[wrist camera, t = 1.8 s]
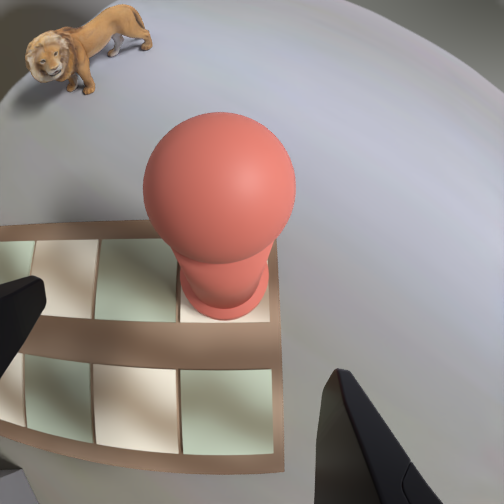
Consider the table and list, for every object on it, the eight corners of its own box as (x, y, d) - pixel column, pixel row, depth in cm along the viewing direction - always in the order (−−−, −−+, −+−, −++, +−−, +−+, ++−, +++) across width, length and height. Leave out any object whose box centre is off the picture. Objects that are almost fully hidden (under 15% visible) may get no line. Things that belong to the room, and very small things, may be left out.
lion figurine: (73, 125, 24) (36, 54, 16) (42, 113, 25) (6, 50, 16) (165, 38, 29) (157, -29, 21) (131, 32, 30) (119, -29, 21)
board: (281, 466, 17) (284, 472, 16) (-17, 423, 15) (-28, 425, 14) (273, 226, 22) (275, 217, 21) (-5, 232, 21) (-14, 226, 19)
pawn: (268, 320, 19) (336, 241, 7) (181, 320, 18) (96, 242, 6) (264, 239, 20) (308, 78, 8) (184, 239, 20) (134, 79, 8)
